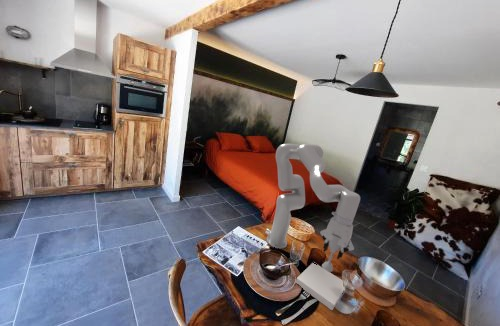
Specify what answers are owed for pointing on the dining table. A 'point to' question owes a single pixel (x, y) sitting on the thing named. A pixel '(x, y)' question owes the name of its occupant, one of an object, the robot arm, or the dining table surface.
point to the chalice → (331, 253)
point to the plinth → (321, 285)
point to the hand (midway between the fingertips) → (331, 253)
